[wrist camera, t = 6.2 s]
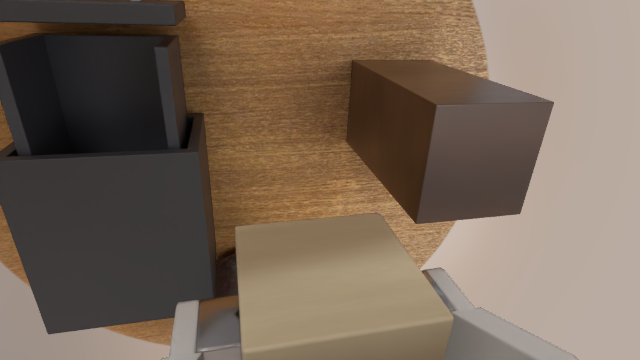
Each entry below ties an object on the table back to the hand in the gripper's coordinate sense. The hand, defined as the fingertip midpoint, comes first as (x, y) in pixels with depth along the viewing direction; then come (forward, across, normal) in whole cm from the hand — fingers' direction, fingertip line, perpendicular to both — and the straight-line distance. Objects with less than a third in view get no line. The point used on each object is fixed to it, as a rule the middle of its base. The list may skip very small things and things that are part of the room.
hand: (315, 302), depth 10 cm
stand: (+28, -14, +2) cm, 31 cm away
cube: (+1, 0, 0) cm, 1 cm away
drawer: (+27, +10, -2) cm, 29 cm away
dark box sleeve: (+28, +10, +10) cm, 31 cm away
